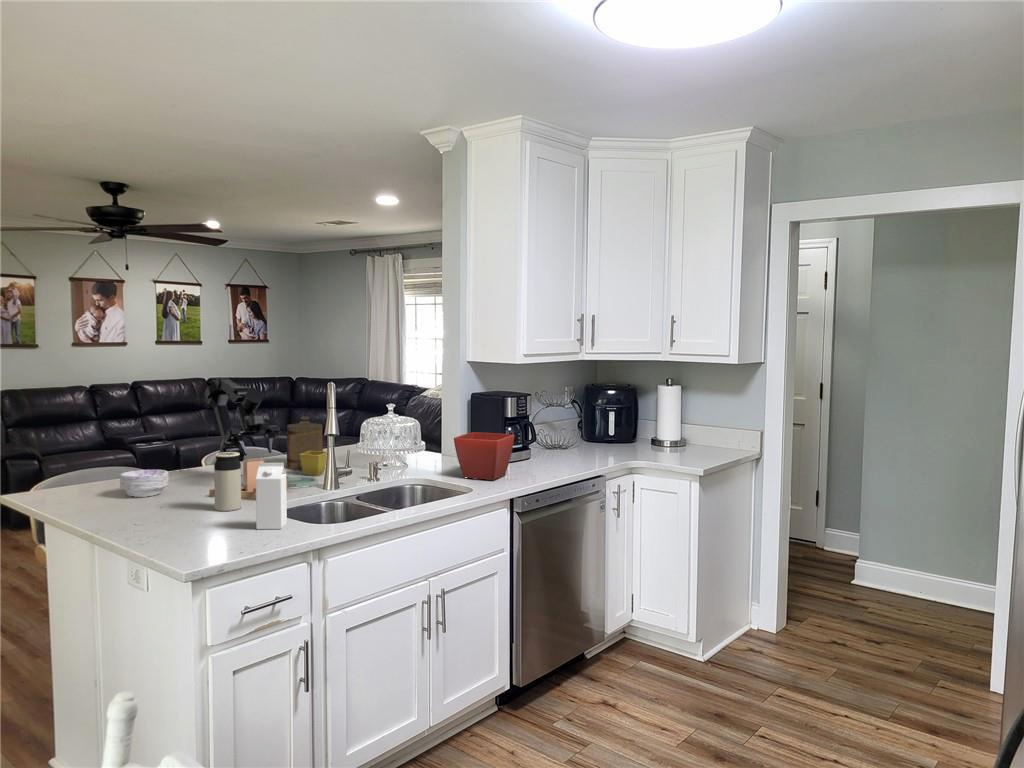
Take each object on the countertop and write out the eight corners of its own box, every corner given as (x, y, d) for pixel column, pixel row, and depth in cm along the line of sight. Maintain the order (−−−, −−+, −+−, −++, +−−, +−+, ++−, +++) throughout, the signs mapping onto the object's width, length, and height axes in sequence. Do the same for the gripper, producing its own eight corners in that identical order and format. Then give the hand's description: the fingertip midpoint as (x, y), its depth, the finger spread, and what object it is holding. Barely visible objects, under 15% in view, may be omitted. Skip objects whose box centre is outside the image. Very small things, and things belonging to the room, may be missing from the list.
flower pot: (319, 477, 291) (319, 455, 290) (299, 476, 293) (299, 454, 292) (329, 473, 300) (329, 451, 299) (309, 472, 301) (309, 450, 301)
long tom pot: (243, 493, 261) (243, 458, 260) (259, 491, 264) (259, 457, 263) (247, 496, 256) (247, 461, 255) (263, 494, 259) (263, 459, 259)
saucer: (274, 486, 272) (274, 482, 272) (292, 480, 285) (292, 476, 285) (305, 488, 269) (305, 484, 269) (323, 482, 282) (323, 478, 282)
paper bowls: (159, 488, 267) (159, 466, 267) (175, 495, 257) (175, 472, 256) (114, 494, 257) (113, 471, 256) (128, 501, 246) (127, 478, 245)
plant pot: (452, 479, 290) (452, 437, 289) (472, 471, 308) (473, 431, 306) (496, 483, 283) (497, 440, 282) (515, 475, 300) (515, 434, 299)
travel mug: (225, 512, 232) (224, 456, 231) (209, 509, 236) (208, 454, 235) (246, 508, 239) (245, 453, 238) (230, 504, 243) (230, 450, 242)
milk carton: (262, 523, 220) (261, 460, 219) (286, 523, 220) (286, 460, 219) (256, 529, 213) (255, 464, 212) (281, 529, 213) (280, 464, 212)
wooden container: (307, 463, 323) (307, 413, 322) (330, 466, 314) (330, 415, 313) (279, 467, 311) (279, 416, 309) (302, 471, 302) (301, 418, 301)
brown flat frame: (209, 496, 254) (209, 485, 254) (244, 485, 275) (244, 474, 274) (256, 500, 250) (256, 488, 250) (288, 488, 270) (288, 477, 270)
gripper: (229, 407, 262) (240, 445, 256) (279, 404, 275) (290, 440, 269) (220, 422, 269) (230, 460, 263) (269, 419, 282) (279, 455, 276)
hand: (258, 453), depth 268 cm, fingers open, 9 cm apart
